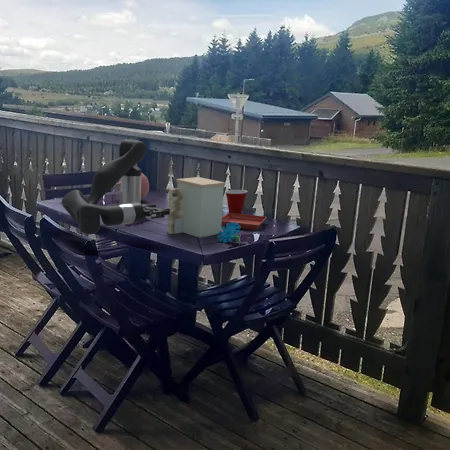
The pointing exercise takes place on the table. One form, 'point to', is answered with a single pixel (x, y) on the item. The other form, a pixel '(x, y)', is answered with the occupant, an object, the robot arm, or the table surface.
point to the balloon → (143, 185)
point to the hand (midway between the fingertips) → (162, 209)
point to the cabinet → (200, 207)
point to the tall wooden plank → (174, 207)
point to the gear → (230, 232)
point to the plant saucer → (243, 220)
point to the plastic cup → (235, 200)
